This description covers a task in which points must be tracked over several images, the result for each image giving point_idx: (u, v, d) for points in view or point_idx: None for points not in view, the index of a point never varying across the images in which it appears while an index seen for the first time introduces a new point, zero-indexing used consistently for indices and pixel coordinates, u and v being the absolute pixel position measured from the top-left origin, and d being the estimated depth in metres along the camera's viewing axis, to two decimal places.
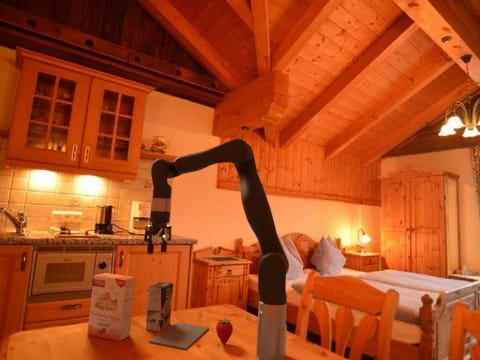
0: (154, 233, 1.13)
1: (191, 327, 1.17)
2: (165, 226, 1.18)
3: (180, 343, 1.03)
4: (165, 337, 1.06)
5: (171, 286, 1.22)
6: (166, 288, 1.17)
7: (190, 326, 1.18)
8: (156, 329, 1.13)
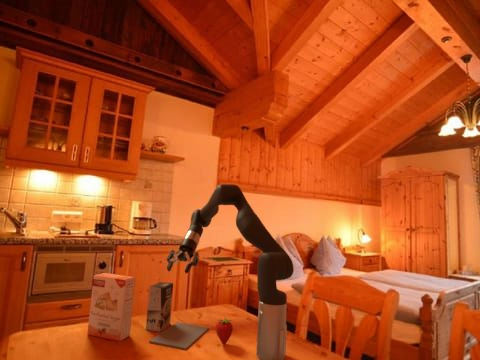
0: None
1: (191, 327, 1.17)
2: (189, 251, 1.39)
3: (180, 343, 1.03)
4: (165, 337, 1.06)
5: (171, 286, 1.22)
6: (166, 288, 1.17)
7: (190, 326, 1.18)
8: (156, 329, 1.13)
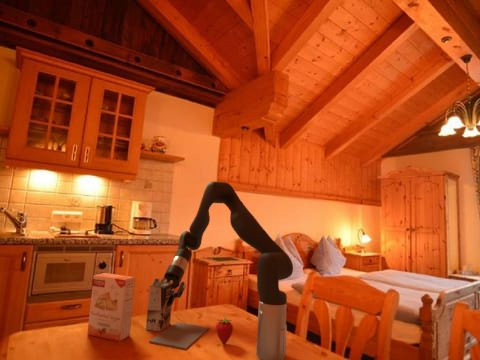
0: None
1: (191, 327, 1.17)
2: (175, 280, 1.26)
3: (180, 343, 1.03)
4: (165, 337, 1.06)
5: (171, 286, 1.22)
6: (166, 288, 1.17)
7: (190, 326, 1.18)
8: (156, 329, 1.13)
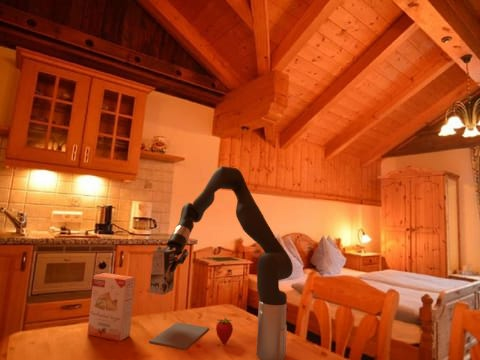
0: None
1: (191, 327, 1.17)
2: (178, 248, 1.27)
3: (180, 343, 1.03)
4: (165, 337, 1.06)
5: (174, 252, 1.23)
6: (169, 253, 1.19)
7: (190, 326, 1.18)
8: (159, 292, 1.15)
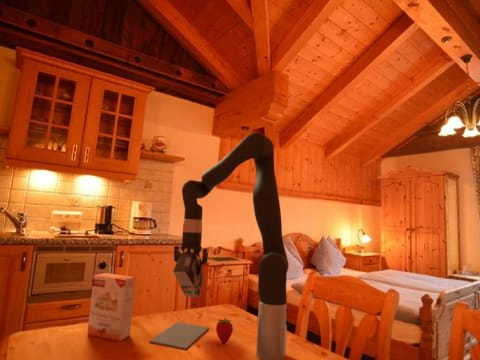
0: None
1: (191, 327, 1.17)
2: (196, 247, 1.16)
3: (180, 343, 1.03)
4: (165, 337, 1.06)
5: (194, 258, 1.14)
6: (191, 268, 1.10)
7: (190, 326, 1.18)
8: (195, 296, 1.17)
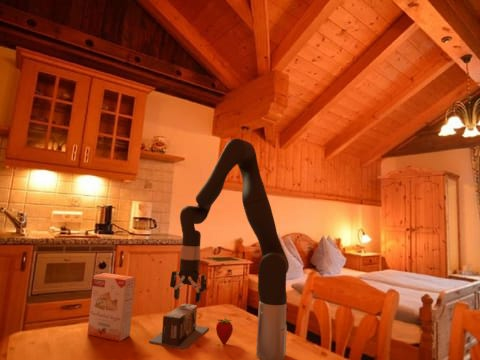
0: None
1: None
2: (193, 274, 1.14)
3: None
4: None
5: (180, 324, 1.02)
6: (179, 339, 1.01)
7: None
8: None
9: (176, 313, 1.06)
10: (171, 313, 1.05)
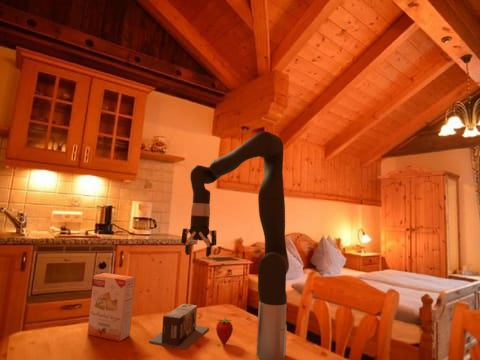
0: None
1: None
2: (204, 230, 1.20)
3: None
4: None
5: (180, 324, 1.02)
6: (179, 339, 1.01)
7: None
8: None
9: (176, 313, 1.06)
10: (171, 313, 1.05)
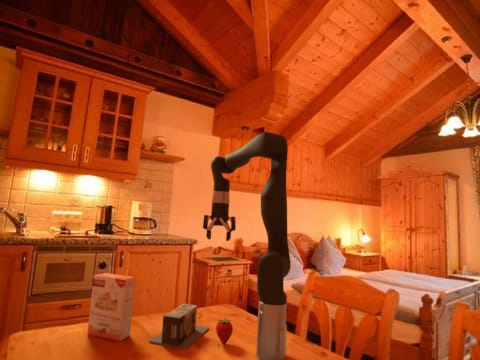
0: None
1: None
2: (224, 216, 1.29)
3: None
4: None
5: (180, 324, 1.02)
6: (179, 339, 1.01)
7: None
8: None
9: (176, 313, 1.06)
10: (171, 313, 1.05)
